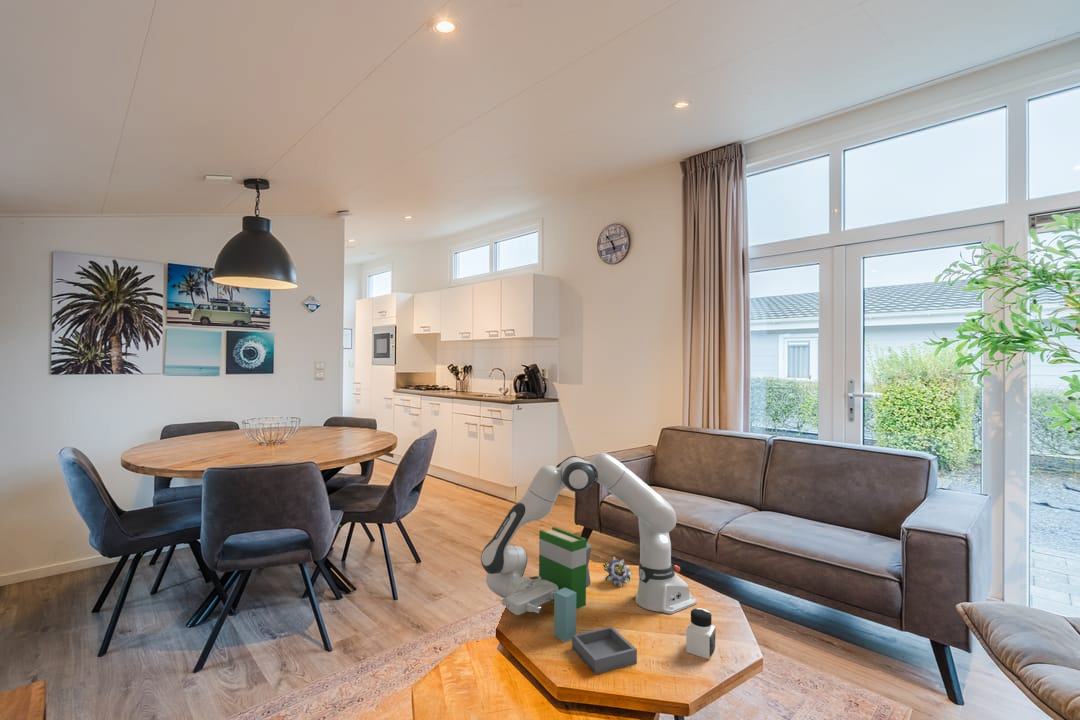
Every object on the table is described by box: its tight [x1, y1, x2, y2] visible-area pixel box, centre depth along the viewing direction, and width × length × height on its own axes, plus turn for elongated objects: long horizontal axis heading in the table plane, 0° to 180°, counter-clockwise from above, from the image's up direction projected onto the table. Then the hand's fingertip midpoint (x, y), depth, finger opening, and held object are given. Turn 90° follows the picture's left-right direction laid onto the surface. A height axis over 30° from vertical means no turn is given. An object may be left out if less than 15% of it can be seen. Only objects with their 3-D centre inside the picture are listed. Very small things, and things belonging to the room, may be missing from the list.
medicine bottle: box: [685, 607, 716, 660], centre depth 150 cm, size 7×7×12 cm
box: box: [571, 626, 638, 675], centre depth 147 cm, size 14×14×4 cm
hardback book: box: [538, 526, 587, 610], centre depth 183 cm, size 18×7×24 cm, turn 41°
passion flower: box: [602, 555, 633, 588], centre depth 198 cm, size 11×11×12 cm
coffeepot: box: [586, 542, 592, 588], centre depth 198 cm, size 15×9×18 cm, turn 16°
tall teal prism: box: [553, 588, 577, 643], centre depth 158 cm, size 5×5×14 cm
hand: (549, 605), depth 163 cm, fingers open, 8 cm apart
